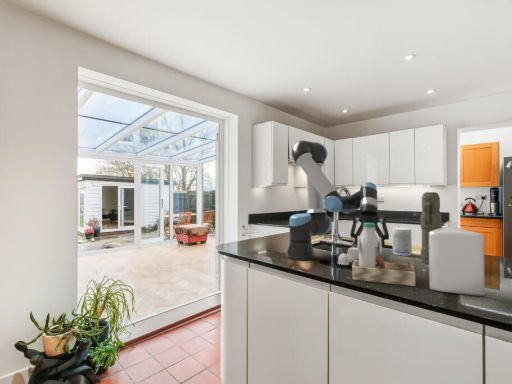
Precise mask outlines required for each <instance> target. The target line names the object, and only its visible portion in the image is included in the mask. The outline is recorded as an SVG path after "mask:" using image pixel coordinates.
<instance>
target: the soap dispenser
mask: <svg viewBox="0 0 512 384" xmlns="http://www.w3.org/2000/svg"><path fill="white" fill-rule="evenodd" d="M484 241H485V235H483V234H481V233H480V232H476V231H470V230H467V229H464V228H460V227H459V228H458V227H452V226H444V227H443V226H442V228H439V229H435V230H432V231H430V232H429V265H428V273H429V275H428V276H429V277H428V279H429V280H428V281H429V282H428V283H429V286H428V287H429V289H430V290H432V291H436V292H440V293H450V294H459V295H467V296H479V297H480V296H481V297H482V296H483V297H485V294H486V293H485V242H484Z"/></svg>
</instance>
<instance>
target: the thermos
mask: <svg viewBox="0 0 512 384" xmlns="http://www.w3.org/2000/svg"><path fill="white" fill-rule="evenodd" d="M421 209H422V210H421V215H420V228H421V249H420V263H422V264H424V265H428V266H429V232H430V231H432V230H435V229H439V228H442V227H443V225H442V223H443V221H442V220H443V217H442V214H441V211H440V209H441V198H440V195H439V193H438V192H436V191H433V192H432V191H431V192H430V191H429V192H428V191H427V192H424V193H422V196H421Z"/></svg>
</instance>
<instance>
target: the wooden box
mask: <svg viewBox="0 0 512 384" xmlns="http://www.w3.org/2000/svg"><path fill="white" fill-rule="evenodd" d="M351 266H352V267H351V269H352V270H351V273H352V274H351V276H352V277H351V279H352V280H355V281H363V282H373V283H380V284H381V283H385V284H393V285H403V286H412V287H416V271H415V269H416V268H415V265H414V263H413V262H412V261H411V260H410V259H408V260H407V263H394V262H388V268H389V270H388V269H384V261H383V262H382V261H379V269H377V268H366V267H359V259H354V260H353V262H352V265H351Z"/></svg>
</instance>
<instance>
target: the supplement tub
mask: <svg viewBox="0 0 512 384" xmlns="http://www.w3.org/2000/svg"><path fill="white" fill-rule="evenodd" d="M412 253H413V252H412V228H408V227H392V254H394V255H396V256H400V255H401V257H403V256H404V257H408V256H411V255H412Z"/></svg>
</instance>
